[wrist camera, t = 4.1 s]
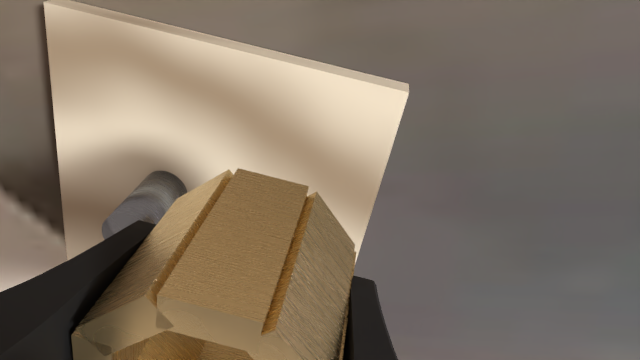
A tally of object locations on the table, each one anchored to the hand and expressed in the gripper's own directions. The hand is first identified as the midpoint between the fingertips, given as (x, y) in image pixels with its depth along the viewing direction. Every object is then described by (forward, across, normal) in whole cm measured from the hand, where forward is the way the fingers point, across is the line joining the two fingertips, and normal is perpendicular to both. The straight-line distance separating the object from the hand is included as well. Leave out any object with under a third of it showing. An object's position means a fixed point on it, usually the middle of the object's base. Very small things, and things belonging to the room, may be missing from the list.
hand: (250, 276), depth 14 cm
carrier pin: (+8, +6, +3) cm, 10 cm away
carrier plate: (+8, +4, +6) cm, 11 cm away
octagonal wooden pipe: (+1, 0, 0) cm, 1 cm away
